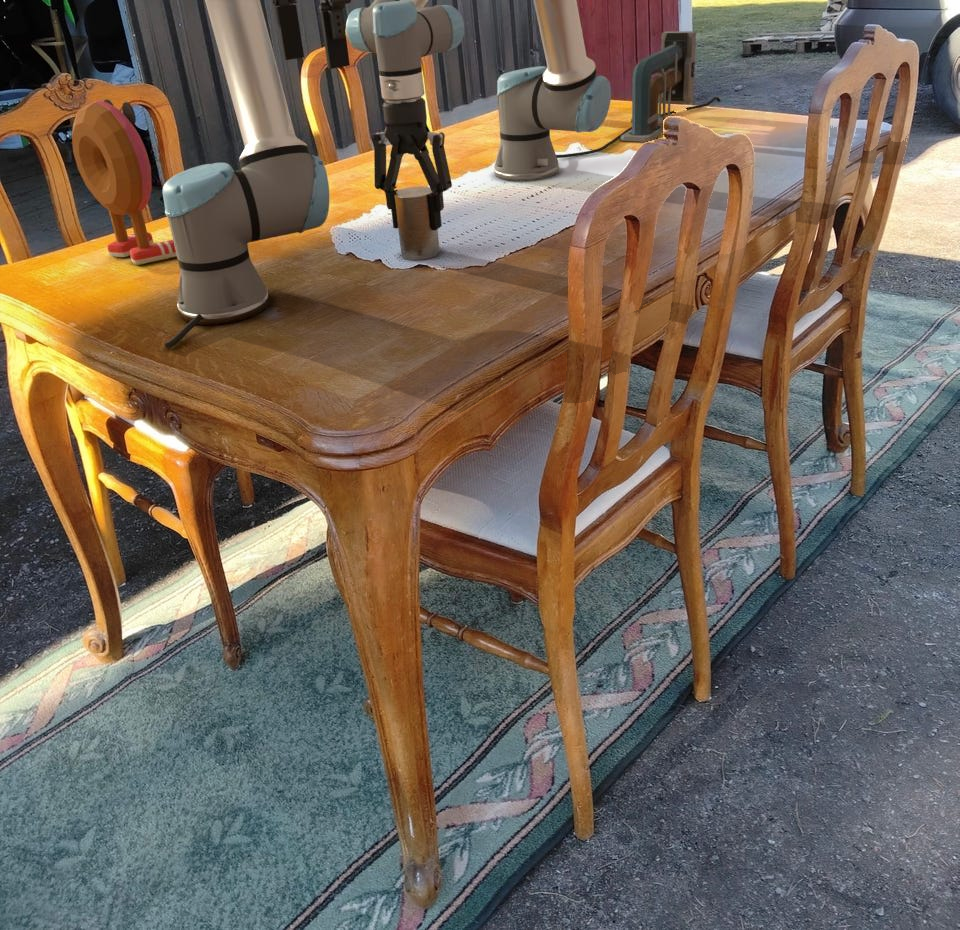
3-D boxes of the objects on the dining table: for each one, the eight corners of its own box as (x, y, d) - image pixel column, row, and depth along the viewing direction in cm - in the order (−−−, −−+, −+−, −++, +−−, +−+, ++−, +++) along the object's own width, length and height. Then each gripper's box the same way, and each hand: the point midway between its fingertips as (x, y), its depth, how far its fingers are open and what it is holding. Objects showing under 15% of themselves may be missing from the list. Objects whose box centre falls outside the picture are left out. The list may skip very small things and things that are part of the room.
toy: (194, 256, 192) (157, 98, 177) (148, 271, 186) (106, 109, 171) (139, 239, 206) (100, 90, 190) (95, 253, 199) (51, 100, 184)
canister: (399, 250, 187) (392, 189, 181) (436, 245, 188) (430, 184, 182) (403, 262, 180) (396, 199, 174) (442, 257, 181) (436, 194, 175)
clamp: (649, 141, 247) (651, 52, 236) (617, 140, 251) (617, 52, 240) (692, 113, 273) (695, 31, 262) (663, 112, 277) (664, 31, 266)
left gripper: (363, -137, 108) (386, 66, 119) (274, -123, 126) (301, 51, 137) (302, -133, 105) (332, 75, 116) (220, -120, 123) (252, 59, 134)
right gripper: (342, 103, 170) (360, 230, 182) (447, 103, 163) (458, 236, 175) (363, 95, 176) (379, 218, 188) (464, 94, 169) (474, 223, 181)
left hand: (315, 63), depth 126 cm, fingers open, 13 cm apart
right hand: (417, 226), depth 181 cm, fingers closed on canister, 7 cm apart
